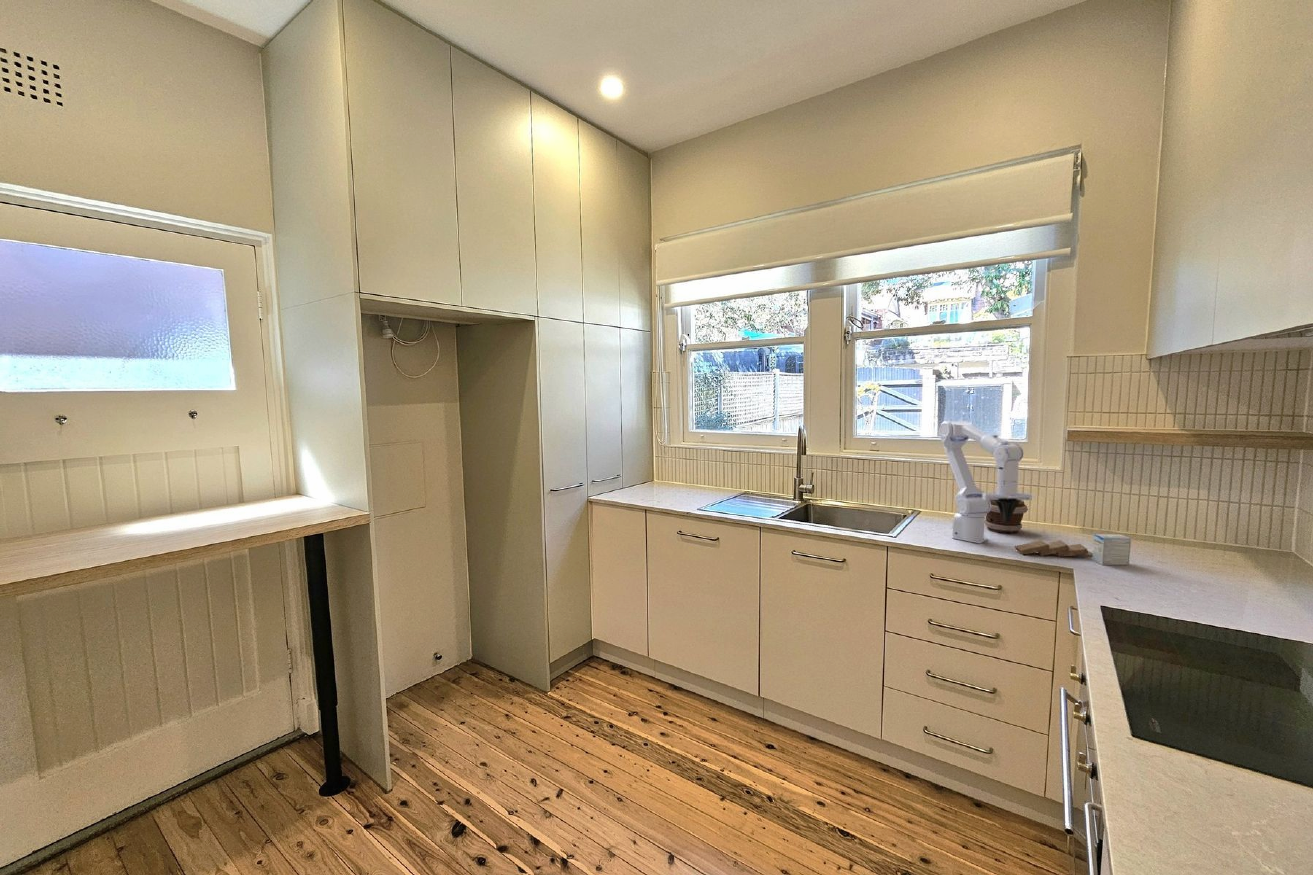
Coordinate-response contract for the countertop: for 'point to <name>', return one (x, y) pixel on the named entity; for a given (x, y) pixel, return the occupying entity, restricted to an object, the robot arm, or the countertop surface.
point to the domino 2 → (1055, 548)
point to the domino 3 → (1073, 550)
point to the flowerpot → (998, 525)
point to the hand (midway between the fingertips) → (1006, 521)
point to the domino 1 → (1032, 547)
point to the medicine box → (1111, 549)
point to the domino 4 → (1085, 554)
